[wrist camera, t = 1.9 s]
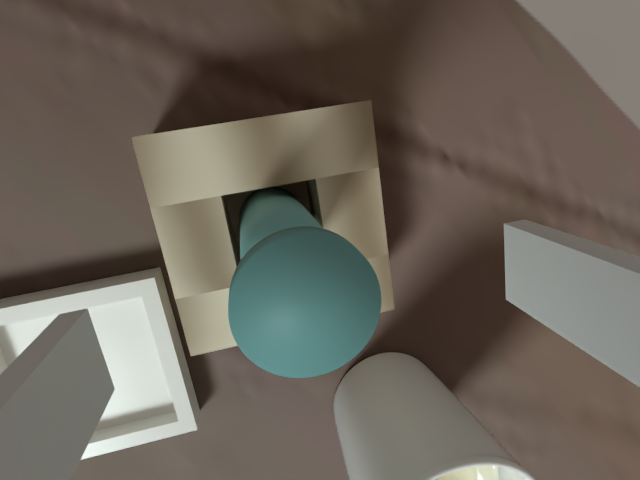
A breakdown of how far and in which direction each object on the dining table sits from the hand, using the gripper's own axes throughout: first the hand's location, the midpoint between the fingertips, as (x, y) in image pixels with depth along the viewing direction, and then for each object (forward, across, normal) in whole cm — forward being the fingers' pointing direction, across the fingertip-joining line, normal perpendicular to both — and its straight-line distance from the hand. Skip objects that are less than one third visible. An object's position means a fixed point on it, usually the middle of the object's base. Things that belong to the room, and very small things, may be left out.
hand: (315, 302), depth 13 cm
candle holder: (+15, +6, -16) cm, 23 cm away
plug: (+14, 0, 0) cm, 14 cm away
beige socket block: (+15, 0, 0) cm, 15 cm away
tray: (+15, -14, -8) cm, 21 cm away
